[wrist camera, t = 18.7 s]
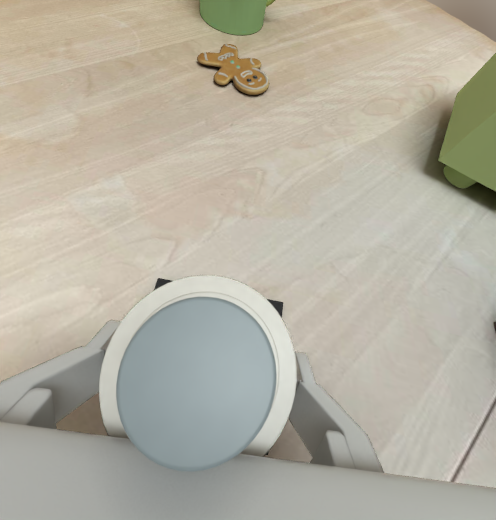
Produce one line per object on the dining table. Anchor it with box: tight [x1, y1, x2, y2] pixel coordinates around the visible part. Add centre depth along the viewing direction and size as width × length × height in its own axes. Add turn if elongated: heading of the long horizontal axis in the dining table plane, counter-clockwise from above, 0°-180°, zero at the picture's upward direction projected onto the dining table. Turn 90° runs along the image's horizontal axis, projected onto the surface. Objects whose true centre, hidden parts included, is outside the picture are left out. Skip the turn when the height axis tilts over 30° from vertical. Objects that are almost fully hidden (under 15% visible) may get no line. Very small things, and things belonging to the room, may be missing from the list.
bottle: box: [99, 275, 297, 472], centre depth 10 cm, size 5×5×14 cm
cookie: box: [197, 44, 269, 95], centre depth 32 cm, size 8×1×10 cm
